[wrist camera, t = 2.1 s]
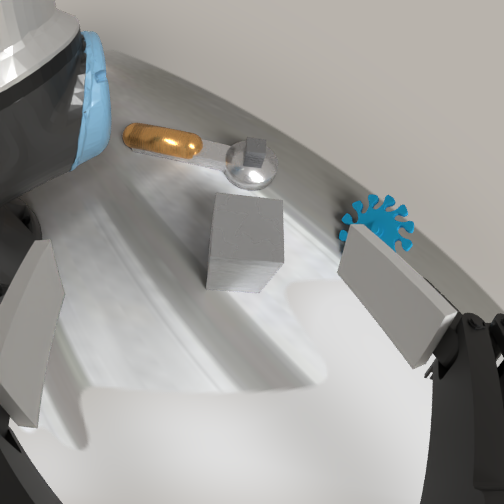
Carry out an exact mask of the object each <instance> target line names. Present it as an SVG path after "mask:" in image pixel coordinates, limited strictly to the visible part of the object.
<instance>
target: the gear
mask: <svg viewBox="0 0 504 504" xmlns="http://www.w3.org/2000/svg"><path fill="white" fill-rule="evenodd" d="M368 200H369V207H368V210H367V212H366V213H364V214H362V213H361V212H362V209H363V204H362V202H361V201H356V202H354V203H353V204H352V206H353V208H354V209H355V210H356V211H357V213H358V221H357V222H356V223H353V219H352V217H351V216H350V215H349V214H348V213H347V214H345V215H344V216H343V218H342V221H343V222H344V223H345V224H346V225H350V224H363V225H365V226H366V227H367V228H368V229H369V230H371V231H372V232H373V233H374V234H375V235H376V236H378V237H379V238H380V239H381V240H382V241H383V242H384V243H386V244H387V245H388V246H389V247H390V248H391V249H392V250H394V251H395V242H396V241H398V240H400V241H401V242H402V247H403V249H404V250H405V251H408V250H409V249H410V248H411V247H412V242H411V241H410V240H409V239H405V238H403V237H402V236H401V235H400V234H399V233H398V229H399V228H401V227H403V228H405V230H406V231H407V232H408V233H413V230H414V223H413V222H412V221H408V222H399V221H396V220H394V218H395V216H397V215H400V216H403V217H405V216H407V215H408V211H407V209H406V207H405V205H401V206H400V207H399V208H398V209H396V210H394V211H391V212H386V211H385V209H386V208H387V207H390V206H393V205H394V204H395V200H394V198H393V197H391V196H389V195H387V196H386V197H385V200H384V203H383V204H382V206H381V207H379V208H378V209H376V210H375V209H373V207H374V205H376V204H377V203H378V201H379V198H378V196H377V195H369V196H368ZM347 235H348V233H347V232H346V231H345V230H341V231H340V234H339V239H340V240H341V241H346V239H347ZM395 252H396V251H395Z"/></svg>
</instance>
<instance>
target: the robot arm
mask: <svg viewBox="0 0 504 504" xmlns="http://www.w3.org/2000/svg"><path fill="white" fill-rule="evenodd" d="M110 135H111V104H110V93H109V85H108V81H107V78H106V63H105V57H104V52H103V47H102V43H101V41H100V38H99V36H98V35H97V33H95V32H93V31H90V32H87V31H84V32H80V25H79V21H78V19H77V18H76V17H75V16H74V15H71V14H69V13H66V12H64V11H61V10H58V9H57V8H56V4H55V0H0V504H63V503H62V502H61V501H60V500H59V498H58V497H57V496H56V495H55V494H54V492H53V491H52V490H51V488H50V487H49V486H48V484H47V483H46V482H45V480H44V479H43V477H42V476H41V475H40V473H39V472H38V470H37V469H36V468H35V466H34V465H33V463H32V462H31V460H30V459H29V457H28V456H27V454H26V452H25V451H24V449H23V448H22V446H21V445H20V443H19V441H18V440H17V438H16V436H15V434H14V433H13V431H12V430H11V428H10V427H9V426H8V424H9V419H10V417H11V418H12V420H13V421H14V422H15V423H16V424H17V425H18V426H23V427H31V428H38V420H39V412H40V404H41V397H42V391H43V385H44V379H45V374H46V369H47V364H48V359H49V354H50V350H51V345H52V341H53V337H54V333H55V329H56V325H57V321H58V317H59V314H60V310H61V307H62V303H63V300H64V296H65V292H64V289H63V285H62V282H61V278H60V275H59V271H58V268H57V264H56V260H55V256H54V252H53V248H52V244H51V239H48V240H42V234H41V228H40V225H39V222H38V220H37V218H36V216H35V215H34V213H33V212H32V211H31V209H30V208H29V207H28V206H27V205H26V204H25V203H24V202H23V201H22V200H20V199H19V198H17V197H19V196H20V195H22V194H24V193H26V192H28V191H30V190H32V189H34V188H35V187H37V186H39V185H41V184H43V183H45V182H47V181H49V180H51V179H53V178H55V177H57V176H59V175H62V174H64V173H66V172H68V171H69V172H70V171H72V170H74V169H75V168H76V167H77V166H78V165H80V164H82V163H83V162H85V161H87V160H89V159H91V158H93V157H95V156H97V155H99V154H100V153H101V152H102V151H103V150H104V149H105V148H106V146H107V145H108V142H109V140H110ZM337 273H338V275H339V276H340V277H341V278H342V279H343V281H344V282H345V283H346V284H347V285H348V287H349V288H350V289H351V290H352V291H353V293H354V294H355V295H356V297H357V298H358V299H359V300H360V301H361V303H362V304H363V305H364V306H365V308H366V309H367V310H368V311H369V313H370V314H371V315H372V316H373V318H374V319H375V320H376V322H377V323H378V324H379V325H380V327H381V328H382V329H383V331H384V332H385V333H386V334H387V336H388V337H389V338H390V340H391V341H392V342H393V344H394V345H395V346H396V348H397V349H398V350H399V351H400V353H401V354H402V355H403V357H404V358H405V359H406V361H407V362H408V363H409V365H410V366H411V367H412V369H415V368H417V367H419V366H422V365H424V364H426V362H427V361H428V359H429V358H430V356H431V355H432V353H433V354H434V355H435V357H436V359H435V360H434V362H433V363H432V365H431V366H430V368H429V369H428V370H427V372H426V373H425V377H424V378H427V376H428V375H429V374H430V372H433V374H432V376H431V377H430V379H432V380H433V394H432V417H431V431H430V442H429V452H428V460H427V467H426V475H425V480H424V486H423V492H422V497H421V502H420V504H504V360H503V361H502V363H501V364H500V365H499V367H497V365H496V361H497V359H498V358H499V357H500V355H501V354H502V355H503V357H504V314H501V313H500V314H497V315H496V316H495V318H494V319H493V321H492V323H485V322H484V321H483V320H482V319H481V318H480V317H479V316H477V315H475V314H473V313H465V314H464V315H462V314H461V313H460V312H459V311H458V310H457V309H456V308H455V307H454V306H453V305H452V303H451V302H450V301H449V300H448V299H447V298H446V297H444V296H443V295H442V294H440V292H439V291H438V290H437V289H436V288H434V286H433V285H432V284H431V283H430V282H429V281H428V280H427V279H425V278H424V277H422V276H421V275H420V274H419V273H418V272H417V271H415V270H414V269H413V268H412V267H411V266H410V265H409V264H408V263H407V262H406V261H405V260H404V259H402V258H401V257H400V256H399V255H398V254H397V253H396V252H395V251H394V250H392V249H391V248H390V247H389V246H388V245H387V244H386V243H384V242H383V241H382V240H381V239H380V238H379V237H378V236H376V235H375V234H374V233H373V232H372V231H371V230H369V229H368V228H367V227H366V226H365V225H363V224H350V227H349V231H348V235H347V239H346V243H345V246H344V250H343V254H342V257H341V261H340V264H339V268H338V271H337Z"/></svg>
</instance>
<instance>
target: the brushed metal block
mask: <svg viewBox="0 0 504 504" xmlns="http://www.w3.org/2000/svg"><path fill="white" fill-rule="evenodd" d="M283 264H284V232H283V200H277V199H268V198H260V197H251V196H242V195H233V194H223V193H216V197H215V204H214V211H213V218H212V226H211V234H210V242H209V254H208V268H207V282H206V289H207V290H220V291H233V292H248V293H260V292H261V291H262V289H263V288H264V287H265V286H266V285H267V283H268V282H269V281H270V280H271V278H272V277H273V276H274V275H275V273H276V272H277V271H278V270H279V269H280V267H281V266H282V265H283Z"/></svg>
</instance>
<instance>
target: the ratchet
mask: <svg viewBox="0 0 504 504" xmlns="http://www.w3.org/2000/svg"><path fill="white" fill-rule="evenodd" d="M123 141H124V143H125V144H126V145H127V146H128V147H130V148H132V151H133V152H137V153H142V154H147V155H152V156H157V157H162V158H167V159H171V160H176V161H181V162H185V163H190V164H194V165H198V166H203V167H207V168H211V169H215V170H219V171H223V172H225V175H226V177H227V179H228V180H229V181H230V182H231V183H232V184H234V185H235V186H237V187H239V188H241V189H244V190H250V191H255V190H260V189H263V188H265V187H267V186H268V185H270V183H271V182H272V181H273V179H274V176H275V174H276V172H277V169H278V159H277V157H276V155H275V153H274V152H273V151H272V150H271V149H270V148H269V147H267V146H266V140H264V139H257V138H249V137H247V140H246V141H241V142H238V143H235V144H234V145H232V146H229V145H225V144H220V143H216V142H212V141H207V140H203V139H201V138H200V137H199V136H198V135H196V134H194V133H190V132H185V131H180V130H175V129H170V128H164V127H159V126H153V125H148V124H142V123H132V124H130V125H128V126H127V127H126V128H125V130H124V132H123Z"/></svg>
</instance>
